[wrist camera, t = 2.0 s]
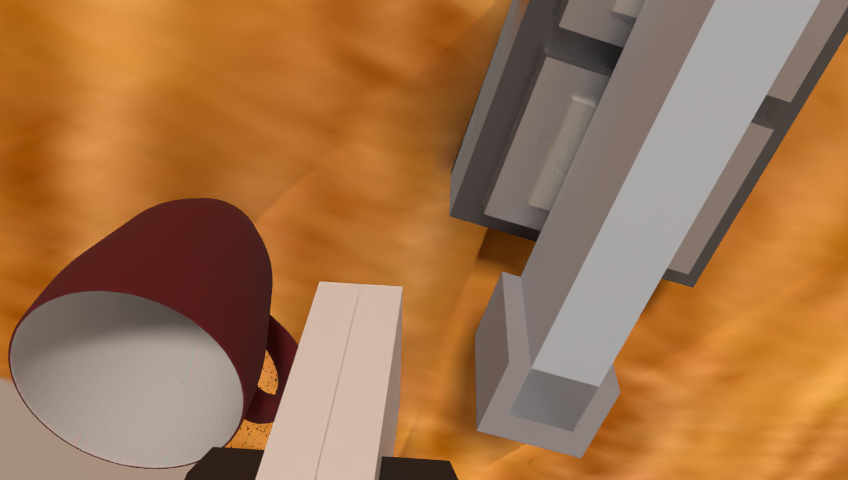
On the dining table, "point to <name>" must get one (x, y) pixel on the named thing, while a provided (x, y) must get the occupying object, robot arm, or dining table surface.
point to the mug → (156, 338)
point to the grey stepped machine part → (575, 106)
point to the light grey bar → (625, 212)
